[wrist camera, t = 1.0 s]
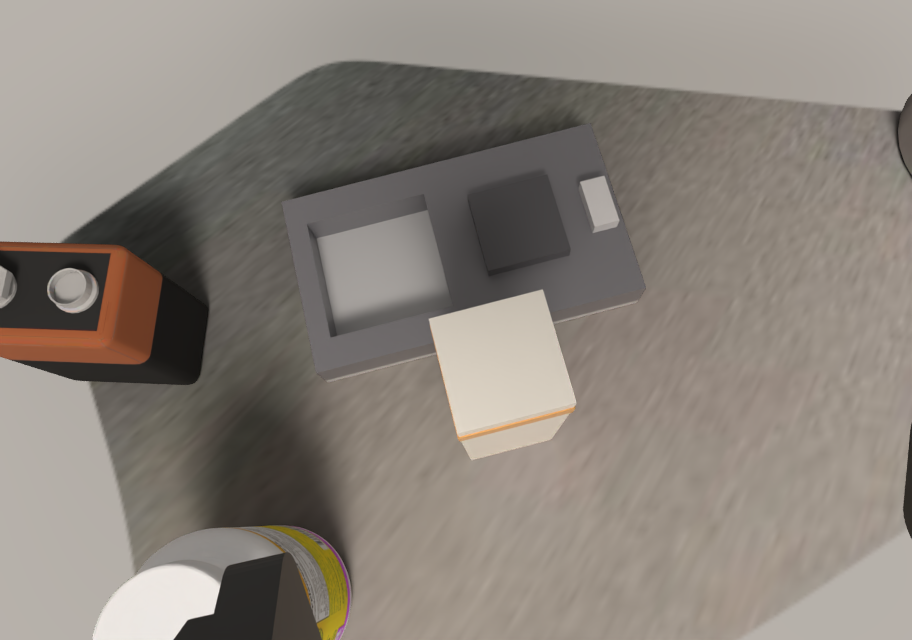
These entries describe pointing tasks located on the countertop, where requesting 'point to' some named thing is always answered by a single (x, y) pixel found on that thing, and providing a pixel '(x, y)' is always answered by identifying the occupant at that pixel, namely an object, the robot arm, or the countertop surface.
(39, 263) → the battery
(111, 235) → the countertop surface
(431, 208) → the grey tray
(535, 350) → the white tall block
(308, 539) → the supplement bottle
